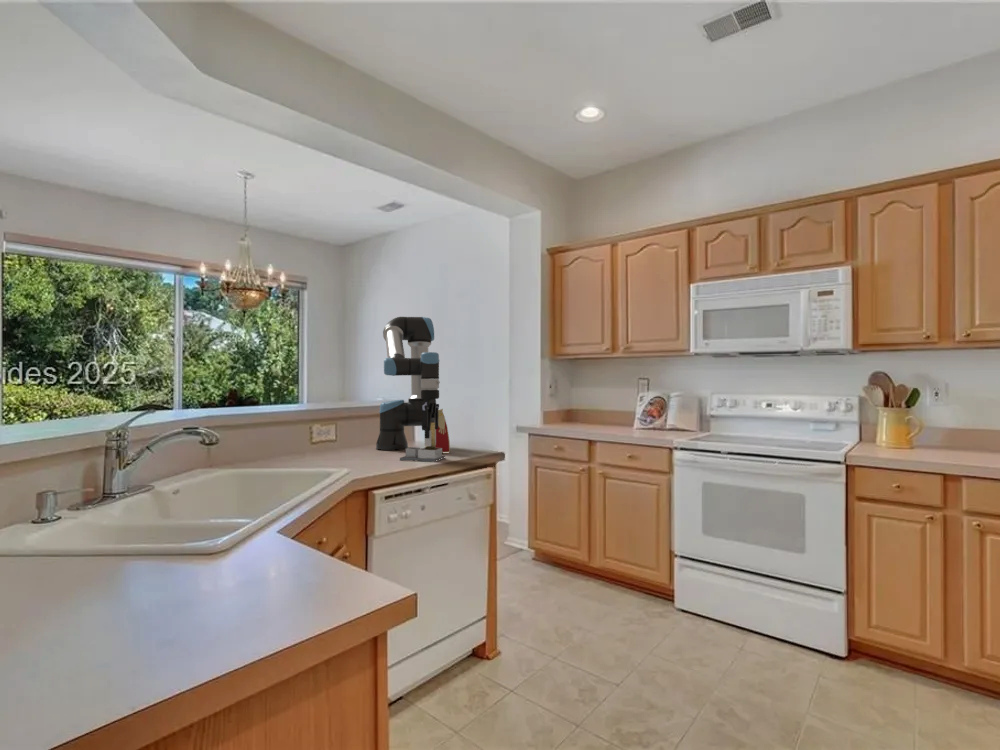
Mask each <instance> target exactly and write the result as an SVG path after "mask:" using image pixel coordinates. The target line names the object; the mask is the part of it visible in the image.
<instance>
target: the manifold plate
mask: <svg viewBox="0 0 1000 750" xmlns="http://www.w3.org/2000/svg"><path fill="white" fill-rule="evenodd" d="M444 457H445V458H446V455H443V454H442V448H435V450H425V447H423V448H421V447H416V446H415V447H413V446H412V447H408V448H406V449H405V455H404V456H402V457H399V461H403V460H422V461H421V462H426V461H436V460H439V459H441V458H444ZM445 458H444V459H445ZM439 461H440V460H439Z"/></svg>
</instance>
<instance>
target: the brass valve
mask: <svg viewBox="0 0 1000 750" xmlns="http://www.w3.org/2000/svg"><path fill="white" fill-rule="evenodd" d="M430 430H431V446H425V445H424V448H425V450H435V417H431V426H430Z"/></svg>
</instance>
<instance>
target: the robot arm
mask: <svg viewBox="0 0 1000 750" xmlns="http://www.w3.org/2000/svg"><path fill="white" fill-rule="evenodd" d="M382 337H383V339H384V341H385V344H386V356H387V357H385V358H384V359H383V374H384V375H385V376H396V377H397V376H410V377H411V380H410V382H411V385H410V386H411V389H410V391H411V393H410V394H411V395H410V397H408V398H407V399H408V401H407V402H406V401H405V400H404V399H396V400H395V399H394V400H388V401H383V402H382V403H380V404H379V434H378V438H377V441H376V443H375V449H376V450H378V449H381V450H380V451H396V450H395V449H401V450H406V449H405V448H409V444H408V443H409V442H408V440H407V437H406V433H405V427H421V429H422V431H424V447H425V446H431V430H430V426H431V417H435V445H436V429H438V411H439V410H440V409H439V408H440V404H439V403H437V399H439V398H440V390H439V388H440V383H441V382H440V374H439V373H440V355H439V352H434V351H433V352H432V351H431V352H430V351H429V347H430V346H431V345H432V341H434V340H435V328H434V324H433V321H432V319H431V318H430V317H424V316H397V317H395V318H392V319H391V320H389V321H388V322H387V323H386V324H385V326H384V328H383V331H382ZM403 341H407V345H408V346H409V347H410V357H406V356H405V355H406V354H405V350H404V349H405V348H404V342H403Z"/></svg>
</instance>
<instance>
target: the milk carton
mask: <svg viewBox="0 0 1000 750" xmlns="http://www.w3.org/2000/svg"><path fill="white" fill-rule="evenodd" d="M445 417H446V416H445V415H444V411H443V408H440V409H439V411H438V429H436V445H435V448H442V453H443V452H450V453H451V444H450V436H449V429H448V424H447V421H446V418H445ZM443 454H444V453H443Z"/></svg>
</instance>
